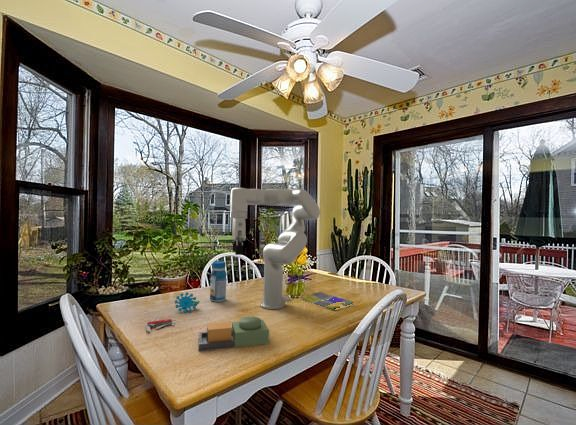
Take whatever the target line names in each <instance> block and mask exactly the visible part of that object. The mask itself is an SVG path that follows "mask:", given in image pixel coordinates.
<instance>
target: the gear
mask: <svg viewBox="0 0 576 425" xmlns="http://www.w3.org/2000/svg"><path fill="white" fill-rule="evenodd" d="M179 295H180V296H179ZM179 295H177V296H176V297H175V298H176V300H174V304H175V306H174V308H175V309H178V312H179V313H180V312H182V310H183V313H187V310H188V312H190V313H191V312H192V311H193V310H195V309H196V307H197V306H198V305H199V303H200V302H201V301H200V300H197V297H196V296H194V294H193V293H191V294H190V295H189V292H185V294H184V293H183V292H182V293H180V294H179ZM180 297H181V298H180ZM191 307H192V308H191Z"/></svg>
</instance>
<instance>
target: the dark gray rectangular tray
mask: <svg viewBox="0 0 576 425" xmlns="http://www.w3.org/2000/svg"><path fill="white" fill-rule="evenodd" d="M197 337H198V340H197V341H198V352H202V351H212V350H214V351H215V350H221V349H229V348H230V349H231V348H236V347H235V340H234V339H233V336H231V340H226V341H216V342H207V331H200V332H198V336H197Z"/></svg>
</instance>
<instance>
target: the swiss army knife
mask: <svg viewBox="0 0 576 425" xmlns="http://www.w3.org/2000/svg"><path fill="white" fill-rule="evenodd" d="M176 321H178V319H172V318H168V319H161V320H159V318H158V317H157V316H156V317H154V318H153V319H151V320H150V321H147V323H146V331H147V332H150V331H151V328H156V329H160V328H162V327H166V326H173V327H175V324H174V323H173V322H176Z"/></svg>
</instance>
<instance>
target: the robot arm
mask: <svg viewBox="0 0 576 425" xmlns="http://www.w3.org/2000/svg"><path fill="white" fill-rule="evenodd" d="M250 205H252V206H258V205H259V206H260V205H261V206H269V207H270V206H272V207H274V206H276V207H277V206H280V207H281V206H283V207H287V206H288V207H289V206H294V207H293V208H292V212H291V217H292V219H291V220H292V221H291V223H290V224H289V225H288V227H286V228H285V229H284V230H283V232H281V234H280V235H278V238H277V242H269V243H267V244H266V245H265V246H264V248H263V250H262V255H263V265H264V266H263V267H264V269H263V270H264V271H263V272H264V273H263V298H262V301H260V302H259V306H260V307H261V308H263V309H266V310H280V309H283V308H285V306H286V302H289V303H290V302H292V297H288V296H285V297H284V296H283V284H284V283H283V282H284V267H283V265H290V264H292V263H293V262H294V261H295V260H296V259H297V258H298V256H299V255H300V254H301V253H302V252H303V251H304V249H305V248H306V246H307V244H308V237H307V235H306V234H305V231H306V226H305V221H304V220H308V221H315V220H318V219H319V217H320V215H321V210H320V207H319V205H318V204H317V202H316V201H315V200H314V198H313V197H312V196H311V194H310V193H309V192H308V191H307V190H306V189H303V188H302V189H301V188H299V189H298V188H297V189H290V188H289V189H285V188H283V189H282V188H268V189H259V188H245V187H233V188H232V189H231V191H230V209H229V210H230V213H229V215H230V216H229V217H230V219H232V231H231V234H232V236H231V237H232V252H233V253H235V254H234V255H236V256H237V255H239V256H240V255H241V256H242V255H244V254H243V253H244V241H246V238H247V236H246V234H247V233H246V232H247V231H246V219H248V206H250Z"/></svg>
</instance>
